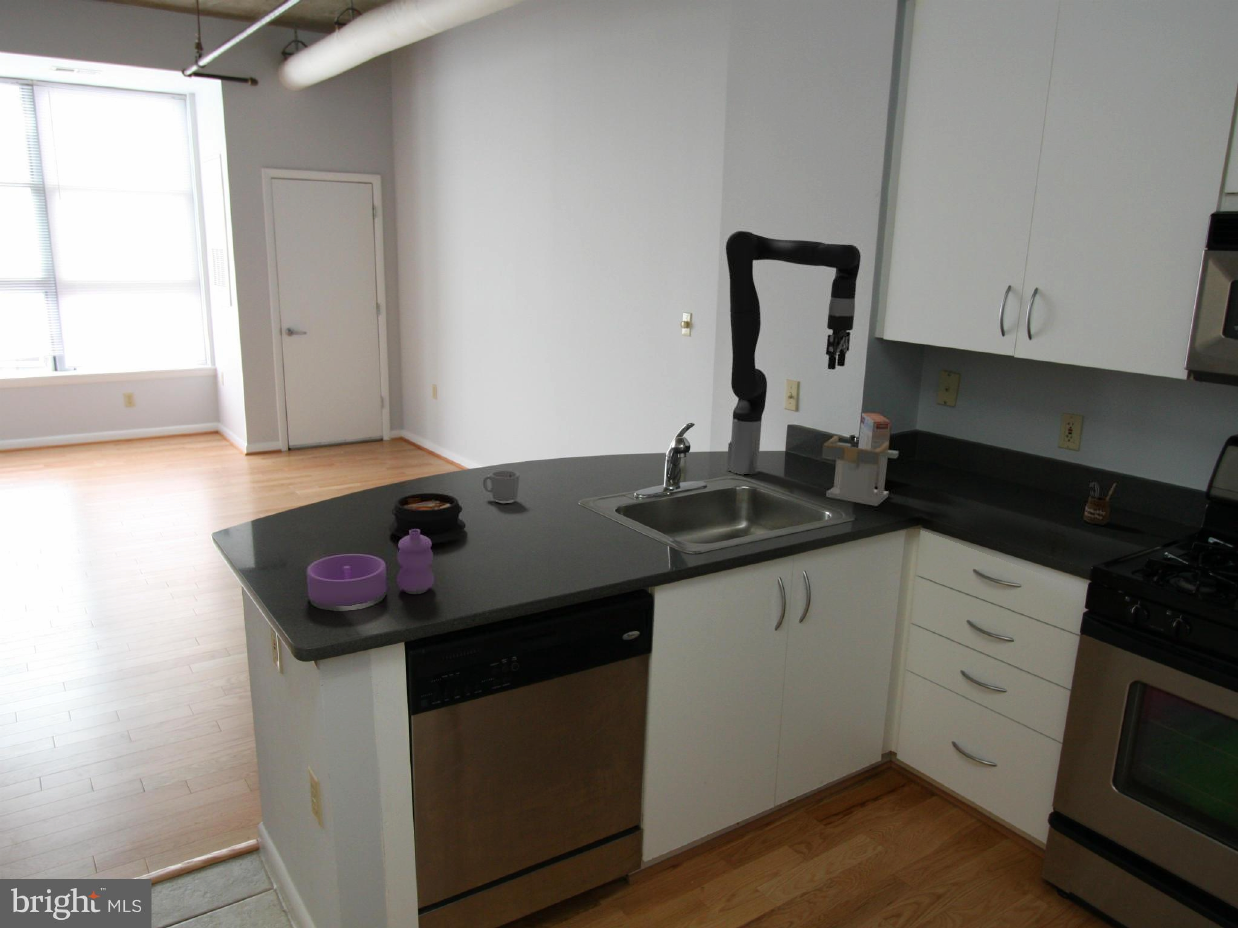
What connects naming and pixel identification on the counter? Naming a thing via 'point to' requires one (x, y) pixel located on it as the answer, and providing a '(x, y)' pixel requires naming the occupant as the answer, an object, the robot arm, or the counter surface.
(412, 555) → the container set
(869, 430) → the cracker box
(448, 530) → the casserole
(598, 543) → the counter surface
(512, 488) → the cup
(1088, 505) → the utensil holder
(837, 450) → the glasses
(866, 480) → the display stand
